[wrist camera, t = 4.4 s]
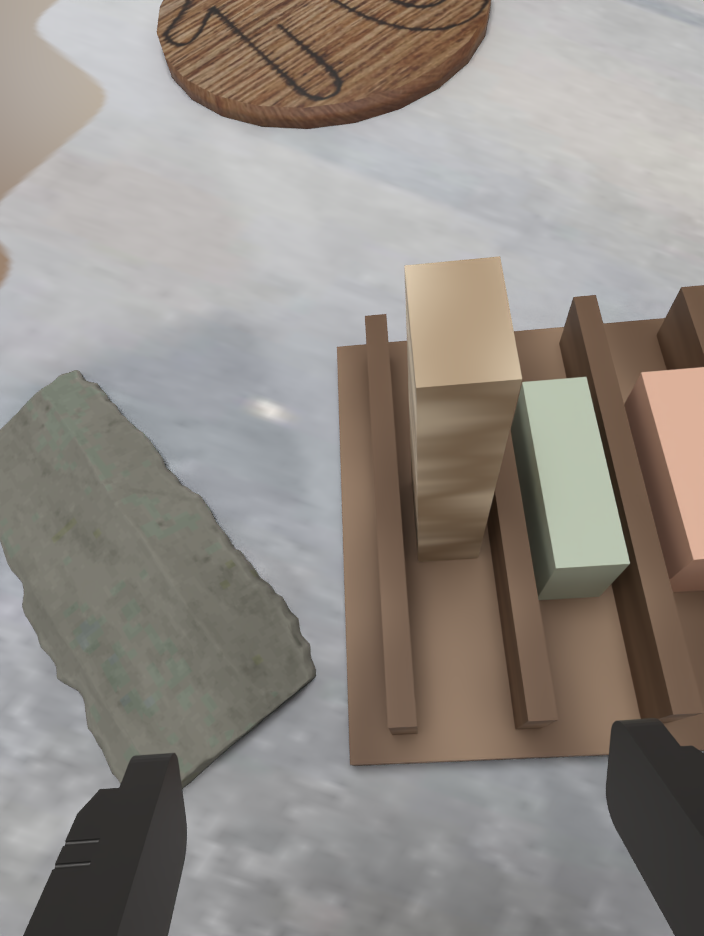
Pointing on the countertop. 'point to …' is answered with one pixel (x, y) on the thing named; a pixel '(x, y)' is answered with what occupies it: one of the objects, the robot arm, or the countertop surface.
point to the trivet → (316, 55)
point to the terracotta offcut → (673, 465)
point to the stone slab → (138, 586)
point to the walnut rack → (510, 574)
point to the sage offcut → (566, 491)
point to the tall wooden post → (458, 399)
